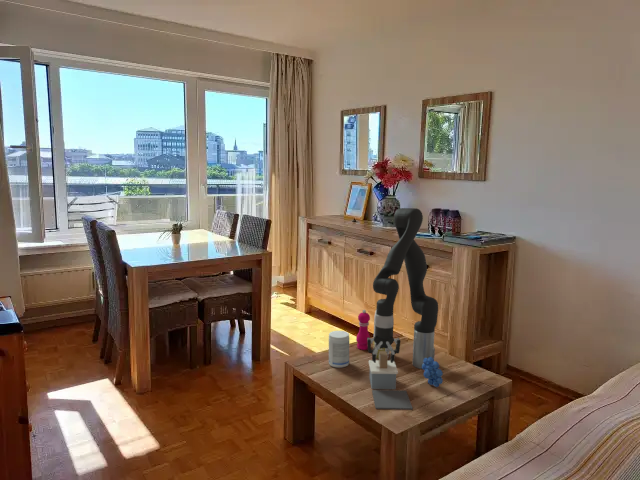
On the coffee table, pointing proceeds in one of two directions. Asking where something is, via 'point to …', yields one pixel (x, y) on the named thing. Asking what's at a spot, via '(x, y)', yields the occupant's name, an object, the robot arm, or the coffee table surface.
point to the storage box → (382, 381)
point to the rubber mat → (391, 399)
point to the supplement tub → (338, 349)
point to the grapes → (432, 371)
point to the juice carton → (375, 343)
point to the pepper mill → (363, 330)
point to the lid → (382, 365)
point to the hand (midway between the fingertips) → (383, 361)
